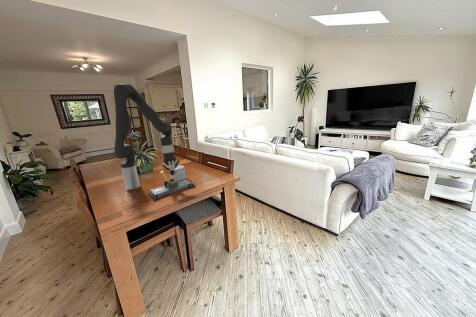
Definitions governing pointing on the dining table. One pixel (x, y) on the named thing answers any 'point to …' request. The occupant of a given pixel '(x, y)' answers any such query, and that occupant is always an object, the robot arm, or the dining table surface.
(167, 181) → the breaker lever
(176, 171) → the light bulb box
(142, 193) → the dining table surface
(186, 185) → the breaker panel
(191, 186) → the cord bundle far
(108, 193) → the dining table surface
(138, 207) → the dining table surface
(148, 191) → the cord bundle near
